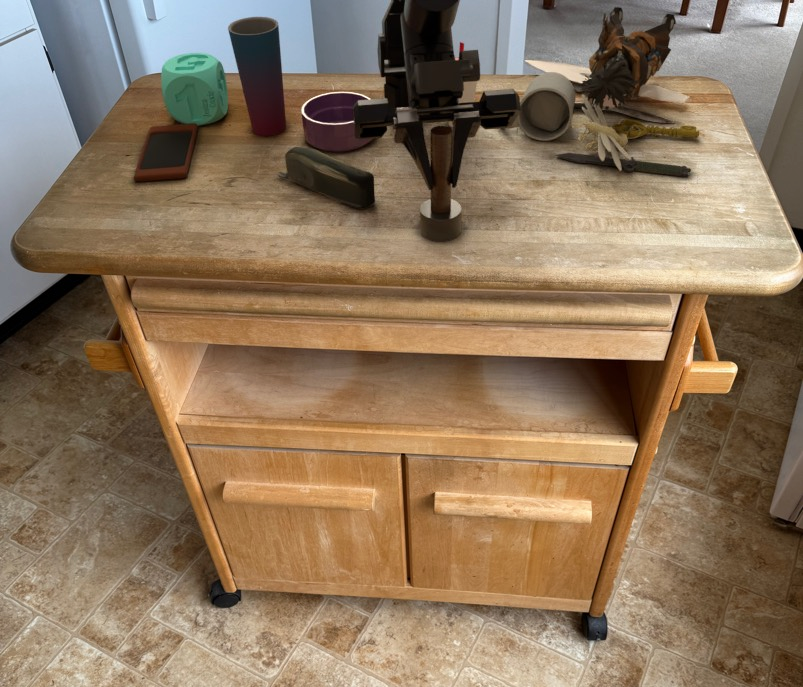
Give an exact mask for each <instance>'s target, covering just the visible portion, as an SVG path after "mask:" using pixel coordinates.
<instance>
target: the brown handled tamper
mask: <svg viewBox="0 0 803 687" xmlns="http://www.w3.org/2000/svg"><path fill="white" fill-rule="evenodd" d="M429 133H430V134H429V135H430V136H429V138H430V139H429V140H430V144H429V145H430V151H429V152H430V154H429V155H430V157H429V160H430V167H431V172H432V179H433V189H432V190H430V198H429V199H426V200H425V201H424V202H422V203H421V204H420V206H419V232H420V234H421V235H422V236H423V237H424V238H425V239H428V240H430V241H433V242H447V241H452V240H454V239H456V238H457V237H459V236H460V234H461V232H462V218H463V216H462V214H463V212H462V211H463V207H462V204H460V202H458V201H457V200H455V199H453V198H452V184H451V173H452V127H450V126H447V125H435V126H433V127H432V128H431V129H430V131H429Z"/></svg>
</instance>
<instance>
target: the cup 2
mask: <svg viewBox="0 0 803 687" xmlns="http://www.w3.org/2000/svg"><path fill="white" fill-rule="evenodd" d="M462 51H465V43H464V42H461V41H460V42H459V50H458V54H459V53H460V52H462ZM455 60H459V56H457V57H456V56H455ZM463 83H464V91H463V96H462V98H459V103H467V102H476V101H475V100H476V94H477V85H478V81H473V82H463ZM447 125H448V127H450V128H451V129H452V128H453V125H452V121H447Z"/></svg>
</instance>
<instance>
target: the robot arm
mask: <svg viewBox="0 0 803 687" xmlns="http://www.w3.org/2000/svg"><path fill="white" fill-rule="evenodd" d="M460 2H461V0H390V2H389V5H388V7H387V9H386V11H385V13H384V15H383V18H382V20H381V32H382V33H378V35H377V36H378V37H377V65H378V70H379V74H380V78H384V80H385V83H384V84H383V98H370V100H357V102H356V103H355V105H354V106H353V122H354V133H355V138H356V139H372V138H373V139H381V138H383V137H384V135H385V134H386V133H387V132H388V127H392V130H394V136H393V141H394V143H395V144H402V145H403V146H404V148H405V149H406V151H407V152H408V153H409V155H410V156H411V158H412V160H413V161H414V163H415V164H416V167H417V168H418V171H419V172H420V175H421V177H422V179H423V181H424V183H425V185H426V187H427V189H428V190H429V191H431V190H432V189H433V179H432V172H431V161H430V157H429V153H428V149H427V145H426V140H425V139H426V138H425V131H424V130H425V129H424V124H433V123H434V124H435V123H445V122H447V123H448V121H452V125H453V128H452V127H451V129H452V173H451V189H455V188H457V186H458V181H459V176H460V171H461V165H462V161H463V156H464V151H465V147H466V144H467V142H468V139H470V138H474V137H475V136H476V135H477V133H478V131H479V128H480V127H481V128H482V129H483V130H486V131H487V130H497V129H506V128H507V127H510V126H512V125H513V123H514V122H515V120H516V118H517V117H518V115H519V113H520V112H521V107H520V101H521V98H520V95H519V93H518V92H517V91H516V90H515V89H514V88H503V89H489V90H483V91H482V94H481V97H480V99H479V101H474V102H467V103H459V98H462V96H463V91H464V83H463V82H473V81H477V82H479V81H480V80H481V63H480V62H481V61H480V56H479V55H480V54H479V49H467V50H464V51H462V52H460V53H459V52H458V57H459V60H455V57H456V56H455V51H454V42H453V32H452V27H453V25H454V23H455V20H456V16H457V13H458V9H459V6H460ZM373 139H372V140H373Z"/></svg>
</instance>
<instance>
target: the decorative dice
mask: <svg viewBox="0 0 803 687" xmlns="http://www.w3.org/2000/svg"><path fill="white" fill-rule="evenodd" d="M160 73H161V75H160V84H161V92H162V98H163V102H164V106H165V109H166V111H167V113H168V115H169V116H170V117H171V118H173V119H174V120H175V121H177V122H178V123H180V124H192V123H195V124H197V126H198V127H199V126H206V125H210V124H213V123H216V122H218V121H220V120H222V119H223V118H224V117H225V116H226V114H227V113H228V109H229V107H228V106H229V93H228V92H229V91H228V83H227V78H226V72H225V68H224V66H223V64H222V62H221V60H219V59H217V57H215V56H214V55H212V54H209V53H205V52H190V53H189V52H188V53H183V54H178V55H175V56H173V57H171V58H169V59H168V60H166V61H165V62H164V63H163V65H162V68H161V72H160Z"/></svg>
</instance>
